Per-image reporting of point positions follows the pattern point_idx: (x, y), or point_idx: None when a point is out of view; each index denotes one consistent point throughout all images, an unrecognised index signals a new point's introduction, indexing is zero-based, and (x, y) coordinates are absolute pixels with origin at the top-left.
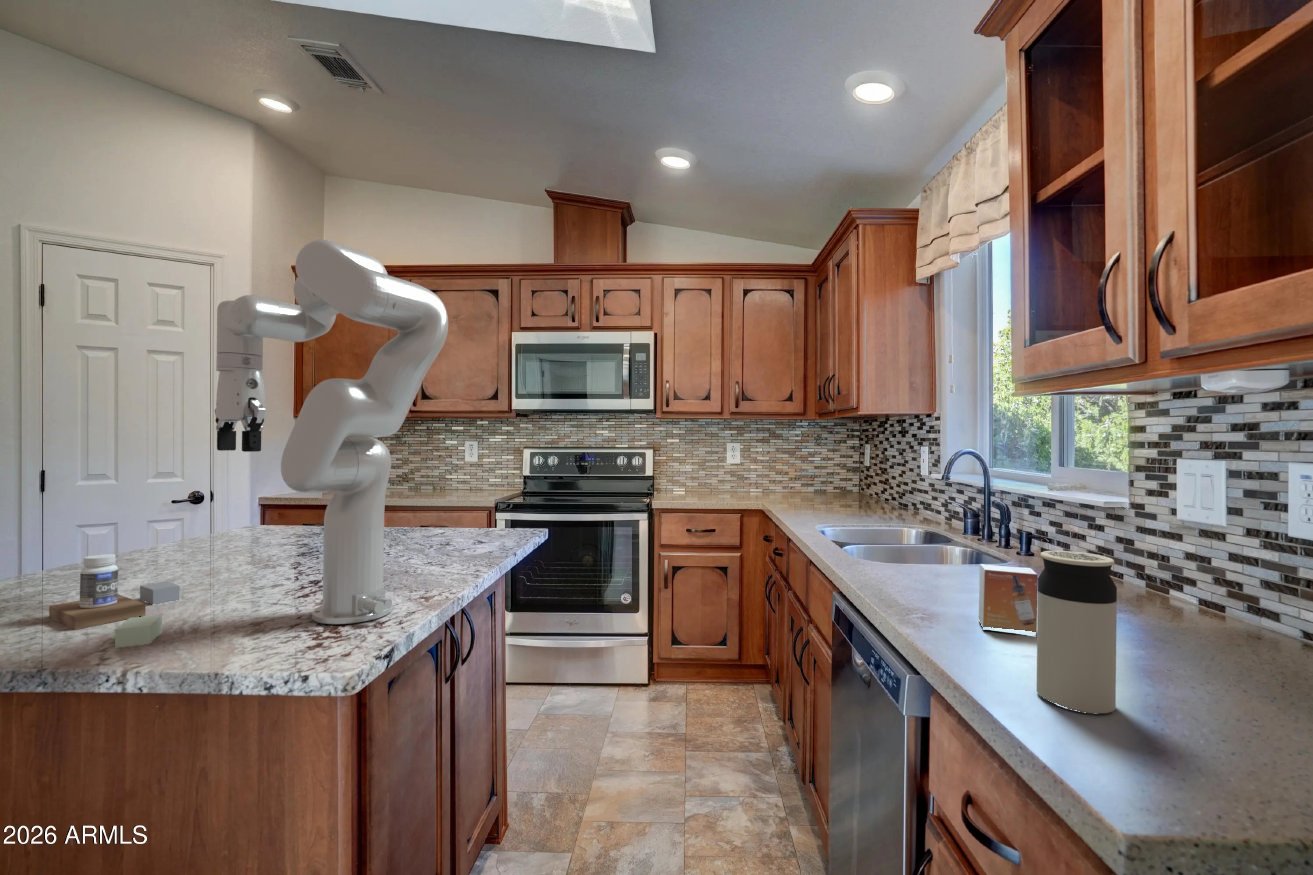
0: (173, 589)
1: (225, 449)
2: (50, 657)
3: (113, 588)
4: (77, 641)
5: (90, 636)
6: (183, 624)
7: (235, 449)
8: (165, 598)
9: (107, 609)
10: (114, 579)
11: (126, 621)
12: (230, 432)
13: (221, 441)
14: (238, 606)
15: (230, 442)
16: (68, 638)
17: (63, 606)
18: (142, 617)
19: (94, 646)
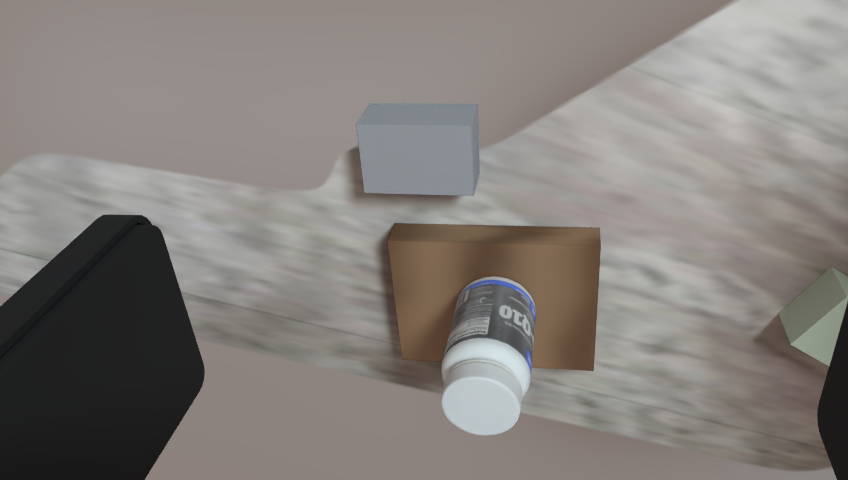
0: (473, 138)
1: (189, 326)
2: (791, 431)
3: (526, 320)
4: (710, 376)
5: (692, 352)
6: (812, 210)
7: (144, 217)
8: (476, 148)
9: (575, 313)
10: (522, 335)
11: (821, 358)
12: (13, 467)
13: (147, 441)
14: (765, 24)
15: (118, 340)
16: (662, 376)
17: (439, 348)
18: (822, 329)
19: (795, 374)
